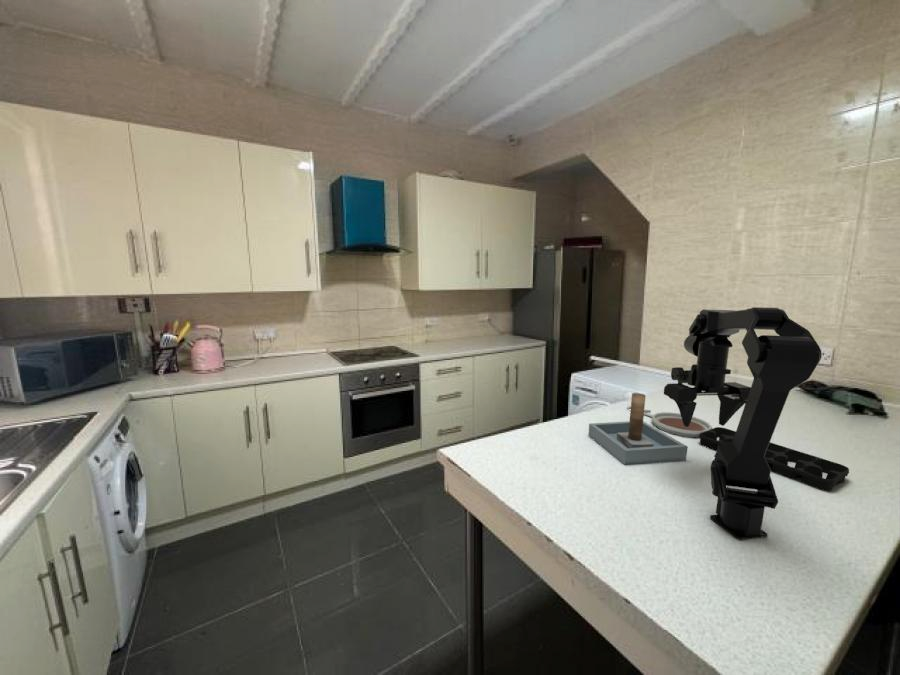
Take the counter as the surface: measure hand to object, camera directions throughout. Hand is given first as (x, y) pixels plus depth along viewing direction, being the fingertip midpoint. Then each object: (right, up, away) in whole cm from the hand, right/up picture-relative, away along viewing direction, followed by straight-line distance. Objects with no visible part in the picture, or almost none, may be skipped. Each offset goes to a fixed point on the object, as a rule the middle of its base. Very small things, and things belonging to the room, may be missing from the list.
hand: (703, 425), depth 87 cm
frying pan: (+12, -8, +36) cm, 39 cm away
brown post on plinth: (-8, -10, +17) cm, 21 cm away
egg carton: (+24, -12, +10) cm, 28 cm away
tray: (-8, -10, +17) cm, 21 cm away
